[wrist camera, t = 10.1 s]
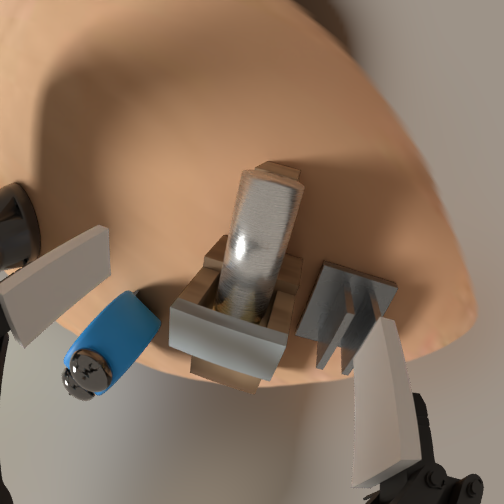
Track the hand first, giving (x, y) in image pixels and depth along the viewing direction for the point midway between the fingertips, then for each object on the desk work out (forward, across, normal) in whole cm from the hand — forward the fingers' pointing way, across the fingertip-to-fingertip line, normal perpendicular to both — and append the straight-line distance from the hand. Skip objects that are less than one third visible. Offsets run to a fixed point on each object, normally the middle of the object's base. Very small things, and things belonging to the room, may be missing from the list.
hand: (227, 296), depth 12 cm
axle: (+9, 0, -1) cm, 9 cm away
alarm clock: (+14, -14, -19) cm, 28 cm away
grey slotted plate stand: (+14, +10, -8) cm, 19 cm away
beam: (+14, 0, -8) cm, 16 cm away
